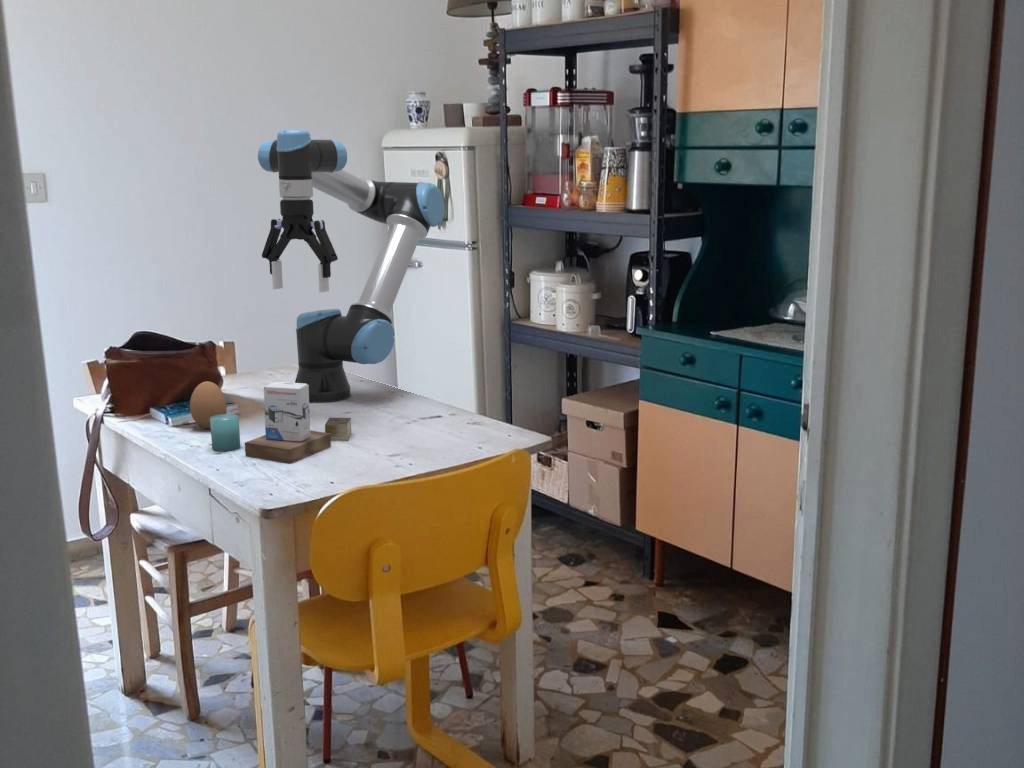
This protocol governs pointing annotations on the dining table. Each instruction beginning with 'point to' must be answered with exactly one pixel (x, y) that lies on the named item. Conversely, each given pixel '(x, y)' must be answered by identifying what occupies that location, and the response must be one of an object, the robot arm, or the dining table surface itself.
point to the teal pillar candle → (225, 432)
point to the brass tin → (339, 428)
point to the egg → (207, 403)
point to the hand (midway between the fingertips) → (300, 290)
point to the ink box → (287, 411)
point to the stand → (287, 447)
